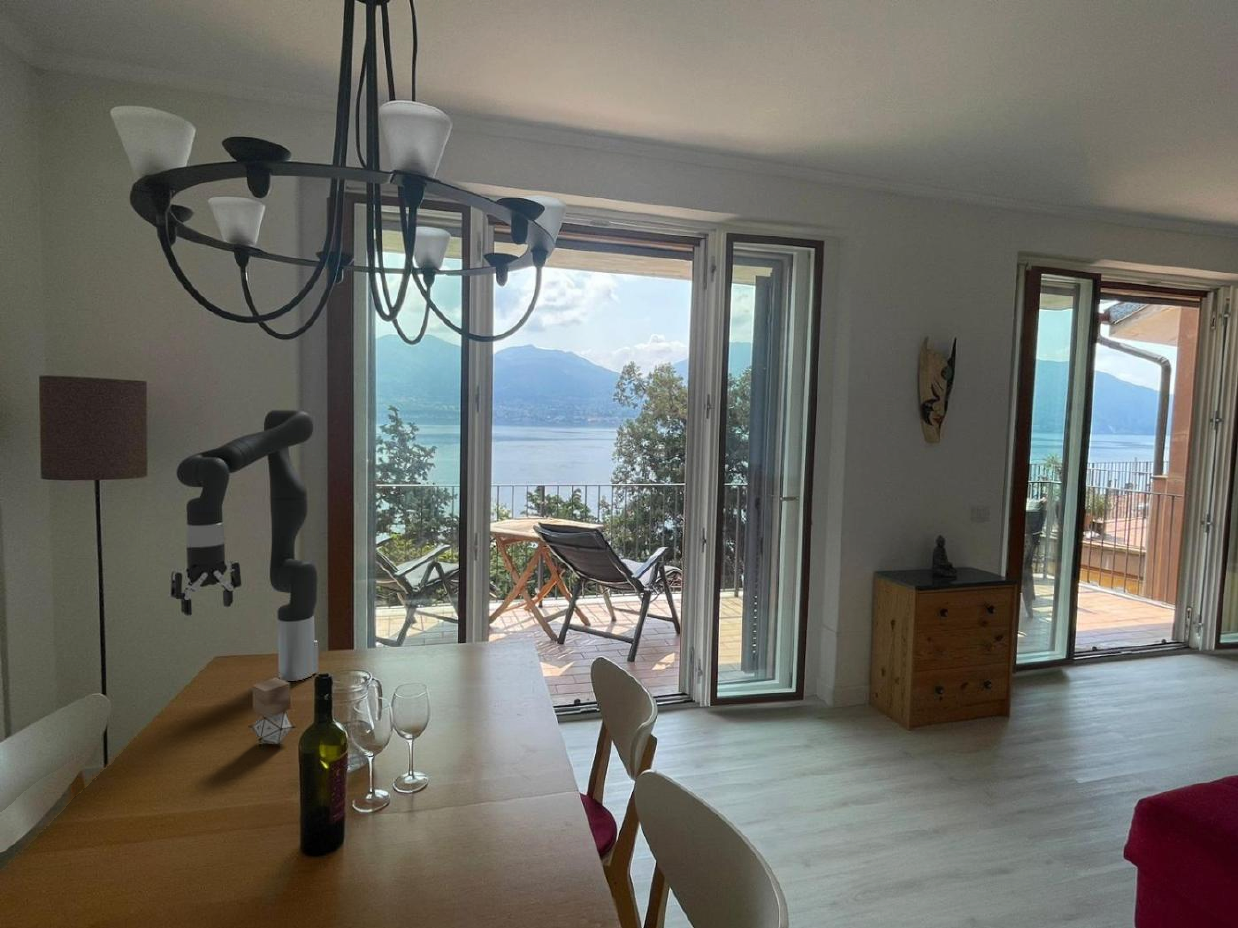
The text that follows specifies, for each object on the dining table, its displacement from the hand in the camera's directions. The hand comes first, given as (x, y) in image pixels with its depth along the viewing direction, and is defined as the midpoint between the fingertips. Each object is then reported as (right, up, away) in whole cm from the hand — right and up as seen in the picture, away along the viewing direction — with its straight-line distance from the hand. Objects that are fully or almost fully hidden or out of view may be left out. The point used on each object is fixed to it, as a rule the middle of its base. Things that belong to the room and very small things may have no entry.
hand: (207, 610), depth 154 cm
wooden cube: (+18, -21, -6) cm, 29 cm away
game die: (+18, -29, -6) cm, 35 cm away
